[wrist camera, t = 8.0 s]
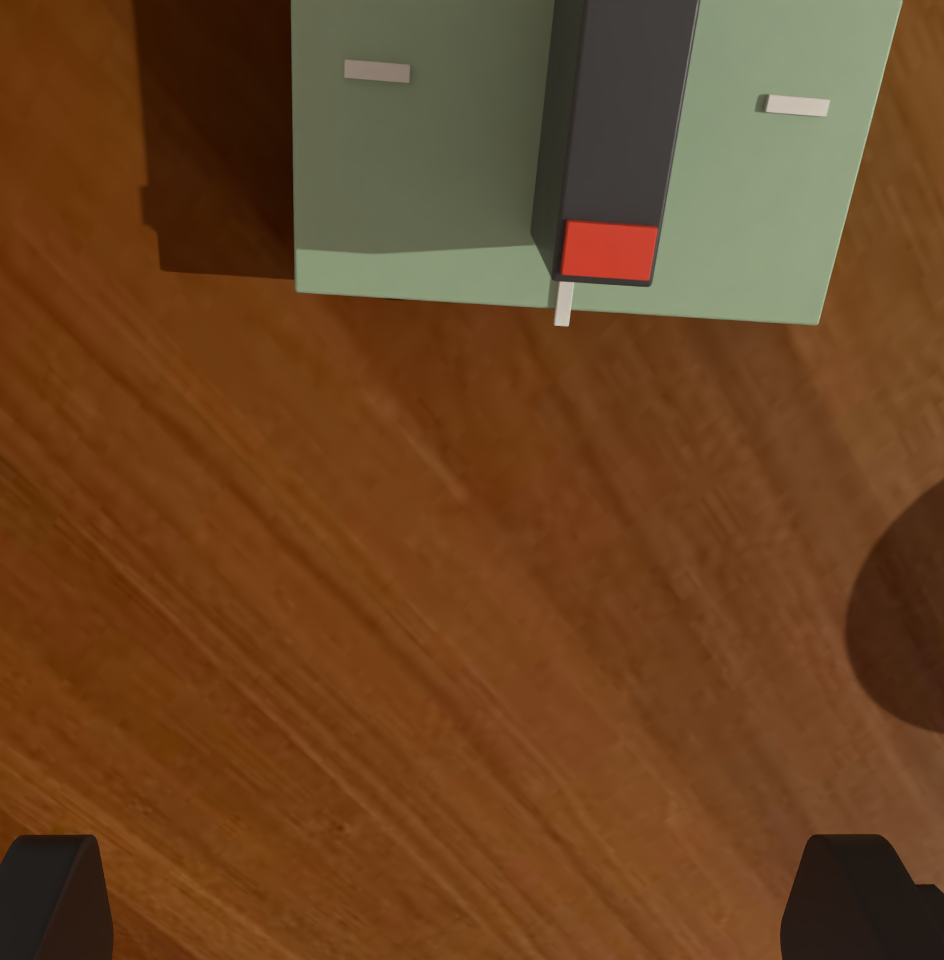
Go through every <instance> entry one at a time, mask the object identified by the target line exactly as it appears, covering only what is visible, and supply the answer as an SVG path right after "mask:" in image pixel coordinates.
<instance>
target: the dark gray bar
mask: <svg viewBox="0 0 944 960" xmlns="http://www.w3.org/2000/svg"><path fill="white" fill-rule="evenodd" d="M700 2H701V0H555V3H554V12H553V22H552V31H551V41H550V50H549V60H548V69H547V78H546V88H545V97H544V107H543V116H542V126H541V135H540V145H539V154H538V164H537V173H536V183H535V192H534V202H533V211H532V220H531V230H530V233H531V236H532V238H533V241H534V243H535V245H536V247H537V249H538V251H539V253H540V255H541V258H542V260H543V262H544V264H545V266H546V268H547V270H548V272H549V275H550V277H551V279H552V280H554V281H561V282H576V283H591V284H606V285H621V286H636V287H649V286H651V284H652V282H653V276H654V270H655V265H656V259H657V253H658V247H659V241H660V235H661V229H662V224H663V218H664V212H665V206H666V200H667V194H668V189H669V183H670V177H671V171H672V165H673V159H674V154H675V148H676V142H677V136H678V130H679V124H680V118H681V113H682V107H683V101H684V95H685V89H686V83H687V78H688V72H689V66H690V60H691V54H692V48H693V42H694V37H695V31H696V25H697V19H698V13H699V7H700Z"/></svg>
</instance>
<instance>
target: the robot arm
mask: <svg viewBox="0 0 944 960" xmlns="http://www.w3.org/2000/svg"><path fill="white" fill-rule="evenodd" d="M780 942H781V953H782V959H783V960H944V893H943V892H942V891H940V890H939V889H938V888H937V887H936V886H935V885H934V884H921V885H915V884H914V882H913V880H912V878H911V877H910V875H909V873H908V872H907V870H906V868H905V866H904V865H903V863H902V861H901V860H900V858H899V856H898V855H897V853H896V851H895V850H894V848H893V847H892V845H891V844H890V843H889V842H888V841H887V840H886V839H885V838H884V837H882V836H880V835H877V834H821V835H813V836H812V837H810V838H809V840H808V841H807V844H806V846H805V849H804V852H803V855H802V859H801V862H800V865H799V868H798V871H797V874H796V877H795V880H794V883H793V887H792V890H791V893H790V896H789V899H788V902H787V905H786V908H785V911H784V915H783V918H782V922H781V931H780ZM112 951H113V923H112V917H111V912H110V906H109V901H108V895H107V890H106V884H105V879H104V873H103V868H102V862H101V857H100V851H99V846H98V842H97V840H96V838H95V837H94V836H93V835H21V836H19V837H18V838H17V839H16V840H15V841H14V842H13V843H12V844H11V846H10V847H9V849H8V851H7V853H6V855H5V857H4V859H3V861H2V863H1V865H0V960H112Z"/></svg>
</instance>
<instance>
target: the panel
mask: <svg viewBox="0 0 944 960" xmlns="http://www.w3.org/2000/svg"><path fill="white" fill-rule="evenodd" d="M902 1H903V0H701V2H700V7H699V13H698V19H697V25H696V31H695V37H694V42H693V48H692V54H691V60H690V66H689V72H688V78H687V83H686V89H685V95H684V101H683V107H682V113H681V118H680V124H679V130H678V136H677V142H676V148H675V154H674V159H673V165H672V171H671V177H670V183H669V189H668V194H667V200H666V206H665V212H664V218H663V224H662V229H661V235H660V241H659V247H658V253H657V259H656V265H655V270H654V276H653V282H652V284H651V286H649V287H636V286H621V285H606V284H591V283H576V282H561V281H554V280H552V279H551V277H550V275H549V272H548V270H547V268H546V266H545V264H544V262H543V260H542V258H541V255H540V253H539V251H538V249H537V247H536V245H535V243H534V241H533V238H532V236H531V233H530V230H531V220H532V211H533V202H534V192H535V183H536V173H537V164H538V154H539V145H540V135H541V126H542V116H543V107H544V97H545V88H546V78H547V69H548V60H549V50H550V41H551V31H552V22H553V12H554V3H555V0H291V55H292V128H293V202H294V275H295V290H296V292H299V293H314V294H330V295H346V296H361V297H377V298H393V299H408V300H424V301H440V302H455V303H471V304H487V305H502V306H518V307H534V308H549V309H555V315H554V325H555V326H569V319H570V311H571V310H581V311H597V312H612V313H628V314H644V315H659V316H675V317H691V318H706V319H722V320H738V321H753V322H769V323H785V324H801V325H818V323H819V319H820V316H821V312H822V308H823V304H824V300H825V296H826V293H827V289H828V285H829V281H830V277H831V273H832V270H833V266H834V262H835V258H836V254H837V250H838V246H839V243H840V239H841V235H842V231H843V227H844V223H845V220H846V216H847V212H848V208H849V204H850V200H851V197H852V193H853V189H854V185H855V181H856V177H857V174H858V170H859V166H860V162H861V158H862V154H863V151H864V147H865V143H866V139H867V135H868V131H869V128H870V124H871V120H872V116H873V112H874V108H875V105H876V101H877V97H878V93H879V89H880V85H881V82H882V78H883V74H884V70H885V66H886V62H887V59H888V55H889V51H890V47H891V43H892V39H893V36H894V32H895V28H896V24H897V20H898V16H899V13H900V9H901V5H902Z"/></svg>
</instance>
